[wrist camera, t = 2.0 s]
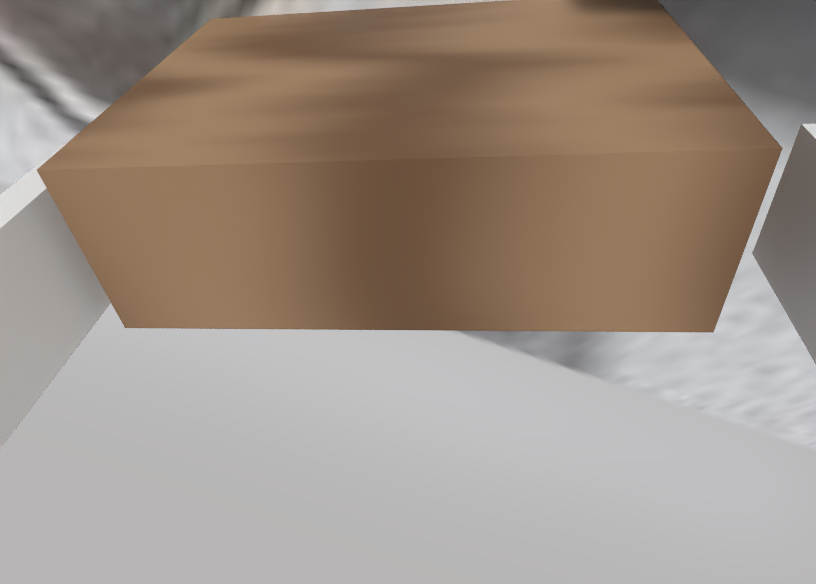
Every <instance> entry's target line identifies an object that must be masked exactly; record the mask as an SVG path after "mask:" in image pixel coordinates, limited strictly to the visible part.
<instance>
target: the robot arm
mask: <svg viewBox="0 0 816 584" xmlns="http://www.w3.org/2000/svg"><path fill="white" fill-rule="evenodd" d="M65 145H66V144H63V145H62V146H60V147H59V148H58V149H57V150H55V151H54V152H53V153H52V154H50V155H49V156H48V157H47V158H45V159H44V160H43V161H42V162H40V163H39V164H38V165H37V166H35V167H34V168H33V169H32V170H31V171H29V172H28V173H27V174H26V175H24V176H23V177H22V178H21V179H19V180H18V181H17V182H16V183H14V184H13V185H12V186H11V187H9V188H8V189H7V190H6V191H4V192H3V193H2V194H1V195H0V449H1V448H2V446H3V445H4V444H5V442H6V441H7V440H8V438H9V437H10V435H11V434H12V433H13V432H14V430H15V429H16V428H17V426H18V425H19V424H20V422H21V421H22V420H23V418H24V417H25V416H26V414H27V413H28V412H29V411H30V409H31V408H32V406H33V405H34V404H35V403H36V401H37V400H38V399H39V397H40V396H41V395H42V393H43V392H44V391H45V389H46V388H47V387H48V385H49V384H50V383H51V381H52V380H53V379H54V377H55V376H56V375H57V373H58V372H59V371H60V369H61V368H62V367H63V365H64V364H65V363H66V362H67V360H68V359H69V358H70V356H71V355H72V353H73V352H74V351H75V350H76V348H77V347H78V346H79V344H80V343H81V342H82V340H83V339H84V338H85V336H86V335H87V334H88V332H89V331H90V330H91V328H92V327H93V325H94V324H95V323H96V322H97V320H98V319H99V318H100V316H101V315H102V314H103V312H104V311H105V310H106V308H107V307H108V306H109V304H110V303H111V302H110V300H109V298H108V296H107V295H106V293H105V291H104V289H103V287H102V286H101V284H100V282H99V280H98V279H97V277H96V275H95V273H94V271H93V270H92V268H91V266H90V264H89V263H88V261H87V259H86V257H85V255H84V254H83V252H82V250H81V248H80V247H79V245H78V243H77V241H76V239H75V238H74V236H73V234H72V232H71V231H70V229H69V227H68V225H67V223H66V222H65V220H64V218H63V216H62V215H61V213H60V211H59V209H58V207H57V206H56V204H55V202H54V200H53V199H52V197H51V195H50V193H49V191H48V190H47V188H46V186H45V184H44V183H43V181H42V179H41V177H40V175H39V174H38V172H37V169H38V168H39V167H40V166H42V165H43V164H44V163H45V162H46V161H47V160H48V159H50V158H51V157H52V156H53V155H54V154H55V153H57V152H58V151H59V150H60V149H61V148H62V147H64V146H65ZM752 254H753V256H754V257H755V259H756V261H757V263H758V264H759V266H760V268H761V269H762V271H763V273H764V275H765V276H766V278H767V280H768V282H769V283H770V285H771V287H772V289H773V290H774V292H775V294H776V296H777V297H778V299H779V301H780V303H781V304H782V306H783V308H784V310H785V311H786V313H787V315H788V317H789V318H790V320H791V322H792V323H793V325H794V327H795V329H796V330H797V332H798V334H799V336H800V337H801V339H802V341H803V343H804V344H805V346H806V348H807V350H808V351H809V353H810V355H811V357H812V358H813V360H814V362H815V364H816V124H801V127H800V130H799V132H798V135H797V138H796V140H795V143H794V145H793V148H792V151H791V153H790V156H789V159H788V161H787V164H786V166H785V169H784V172H783V174H782V177H781V180H780V182H779V185H778V188H777V190H776V193H775V195H774V198H773V201H772V203H771V206H770V209H769V211H768V214H767V216H766V219H765V222H764V224H763V227H762V230H761V232H760V235H759V238H758V240H757V243H756V245H755V248H754V251H753V253H752Z"/></svg>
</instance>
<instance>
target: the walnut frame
mask: <svg viewBox="0 0 816 584" xmlns="http://www.w3.org/2000/svg"><path fill="white" fill-rule="evenodd" d="M781 151H782V147H781V146H780V145H779V144H778V143H777V141H776V140H775V139H774V138H773V137H772V135H771V134H770V133H769V132H768V131H767V129H766V128H765V127H764V126H763V125H762V124H761V122H760V121H759V120H758V119H757V118H756V116H755V115H754V114H753V113H752V112H751V111H750V109H749V108H748V107H747V106H746V105H745V103H744V102H743V101H742V100H741V99H740V97H739V96H738V95H737V94H736V93H735V92H734V90H733V89H732V88H731V87H730V86H729V84H728V83H727V82H726V81H725V80H724V79H723V77H722V76H721V75H720V74H719V73H718V71H717V70H716V69H715V68H714V67H713V65H712V64H711V63H710V62H709V61H708V60H707V58H706V57H705V56H704V55H703V54H702V52H701V51H700V50H699V49H698V48H697V47H696V45H695V44H694V43H693V42H692V41H691V39H690V38H689V37H688V36H687V35H686V34H685V32H684V31H683V30H682V29H681V28H680V26H679V25H678V24H677V23H676V22H675V20H674V19H673V18H672V17H671V16H670V15H669V13H668V12H667V11H666V10H665V9H664V7H663V6H662V5H661V4H660V3H659V2H658V0H511V1H495V2H479V3H462V4H446V5H430V6H414V7H397V8H381V9H365V10H349V11H333V12H316V13H300V14H284V15H268V16H251V17H235V18H219V19H210V20H209V21H208V22H207V23H206V24H205V25H203V26H202V27H201V28H200V29H199V30H198V31H197V32H195V33H194V34H193V35H192V36H191V37H190V38H188V39H187V40H186V41H185V42H184V43H183V44H181V45H180V46H179V47H178V48H177V49H176V50H175V51H173V52H172V53H171V54H170V55H169V56H168V57H166V58H165V59H164V60H163V61H162V62H161V63H160V64H158V65H157V66H156V67H155V68H154V69H153V70H151V71H150V72H149V73H148V74H147V75H146V76H144V77H143V78H142V79H141V80H140V81H139V82H138V83H136V84H135V85H134V86H133V87H132V88H131V89H129V90H128V91H127V92H126V93H125V94H124V95H123V96H121V97H120V98H119V99H118V100H117V101H116V102H114V103H113V104H112V105H111V106H110V107H109V108H107V109H106V110H105V111H104V112H103V113H102V114H101V115H99V116H98V117H97V118H96V119H95V120H94V121H92V122H91V123H90V124H89V125H88V126H87V127H85V128H84V129H83V130H82V131H81V132H80V133H79V134H77V135H76V136H75V137H74V138H73V139H72V140H70V141H69V142H68V143H67V144H66V145H65V146H64V147H62V148H61V149H60V150H59V151H58V152H57V153H55V154H54V155H53V156H52V157H51V158H50V159H48V160H47V161H46V162H45V163H44V164H43V165H42V166H40V167H39V168H38V169H37V172H38V174H39V175H40V177H41V179H42V181H43V183H44V184H45V186H46V188H47V190H48V191H49V193H50V195H51V197H52V199H53V200H54V202H55V204H56V206H57V207H58V209H59V211H60V213H61V215H62V216H63V218H64V220H65V222H66V223H67V225H68V227H69V229H70V231H71V232H72V234H73V236H74V238H75V239H76V241H77V243H78V245H79V247H80V248H81V250H82V252H83V254H84V255H85V257H86V259H87V261H88V263H89V264H90V266H91V268H92V270H93V271H94V273H95V275H96V277H97V279H98V280H99V282H100V284H101V286H102V287H103V289H104V291H105V293H106V295H107V296H108V298H109V300H110V302H111V303H112V305H113V307H114V309H115V310H116V312H117V314H118V316H119V317H120V319H121V321H122V323H123V324H124V327H125V328H207V329H208V328H210V329H212V328H214V329H340V330H342V329H343V330H344V329H346V330H348V329H349V330H474V331H607V332H714V329H715V326H716V324H717V321H718V318H719V316H720V313H721V310H722V308H723V305H724V302H725V300H726V297H727V294H728V292H729V289H730V287H731V284H732V281H733V279H734V276H735V273H736V271H737V268H738V265H739V263H740V260H741V257H742V255H743V252H744V249H745V247H746V244H747V241H748V239H749V236H750V233H751V231H752V228H753V225H754V223H755V220H756V217H757V215H758V212H759V209H760V207H761V204H762V201H763V199H764V196H765V193H766V191H767V188H768V185H769V183H770V180H771V177H772V175H773V172H774V169H775V167H776V164H777V161H778V159H779V156H780V153H781Z"/></svg>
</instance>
